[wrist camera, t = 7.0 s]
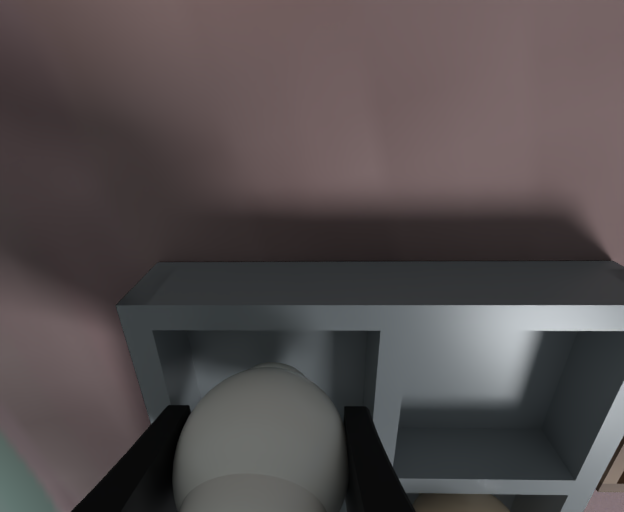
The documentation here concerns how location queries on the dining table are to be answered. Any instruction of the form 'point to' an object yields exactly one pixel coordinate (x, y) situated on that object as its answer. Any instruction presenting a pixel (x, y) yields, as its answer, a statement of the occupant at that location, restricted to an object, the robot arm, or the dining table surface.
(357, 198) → the dining table surface
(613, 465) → the brown square tray
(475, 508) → the brown egg
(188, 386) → the egg tray
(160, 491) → the robot arm
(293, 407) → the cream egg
